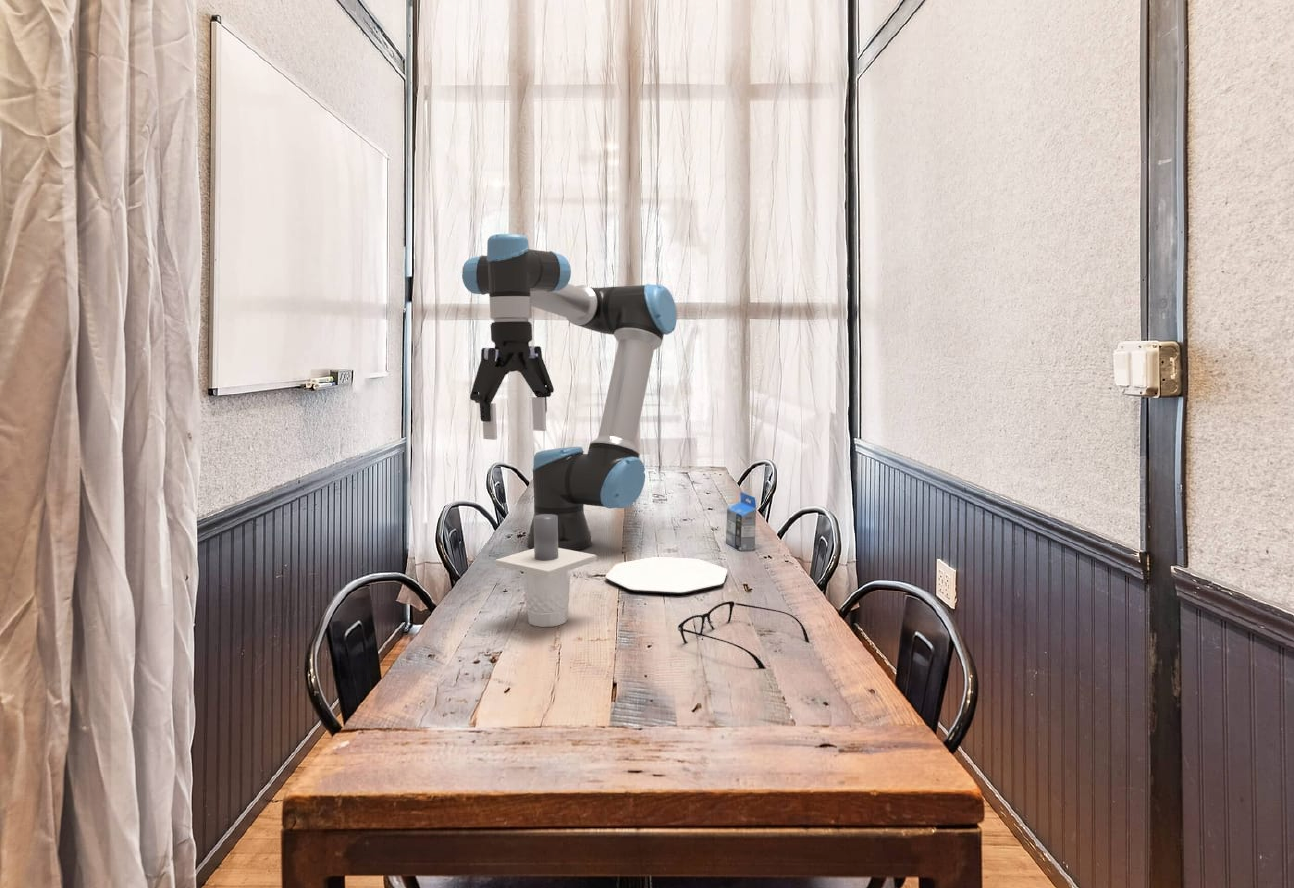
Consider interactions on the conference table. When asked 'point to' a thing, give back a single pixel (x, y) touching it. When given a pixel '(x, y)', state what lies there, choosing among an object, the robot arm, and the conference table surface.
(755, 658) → the eyeglasses
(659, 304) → the robot arm
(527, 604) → the white cup
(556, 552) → the lid
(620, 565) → the plate
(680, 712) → the conference table surface
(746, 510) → the label tape box
